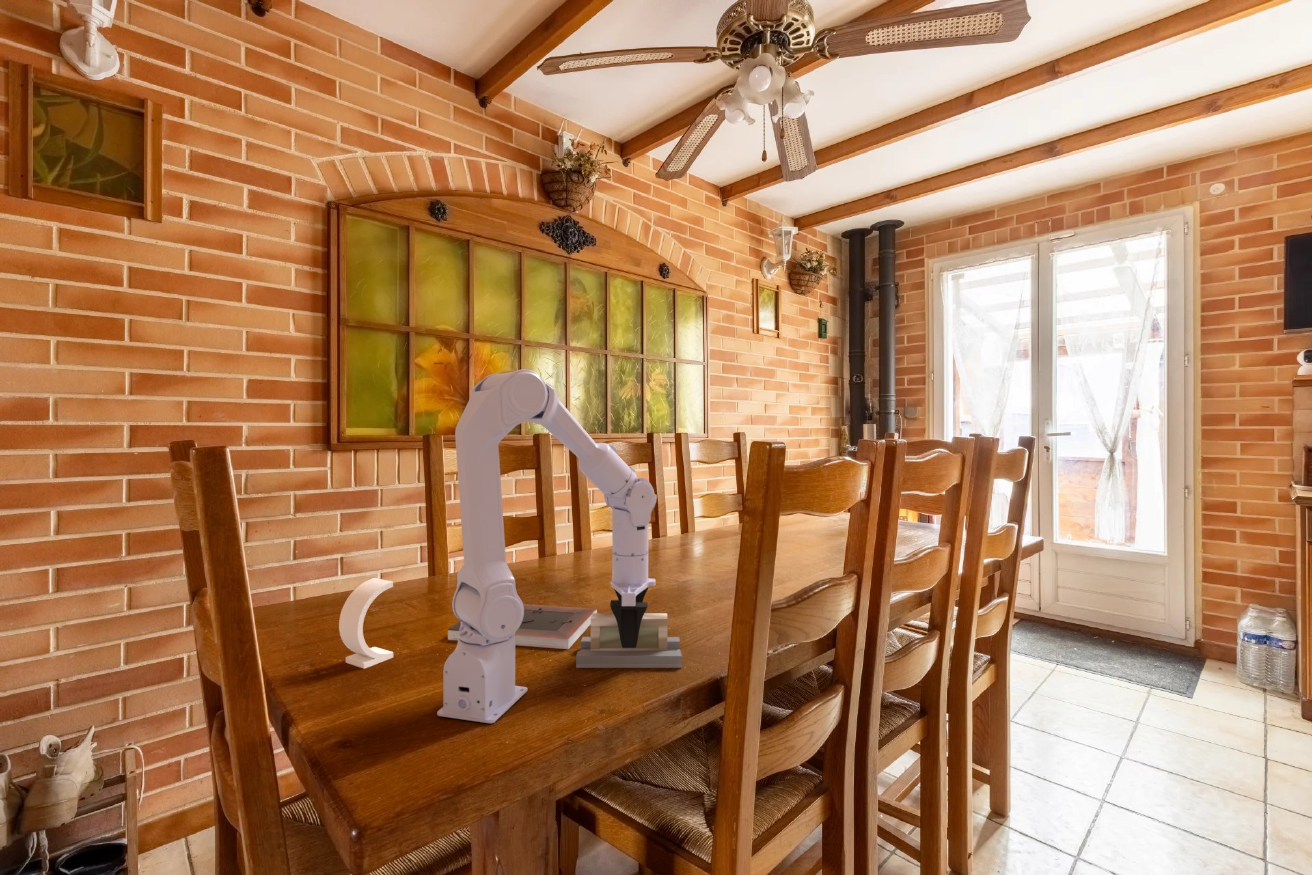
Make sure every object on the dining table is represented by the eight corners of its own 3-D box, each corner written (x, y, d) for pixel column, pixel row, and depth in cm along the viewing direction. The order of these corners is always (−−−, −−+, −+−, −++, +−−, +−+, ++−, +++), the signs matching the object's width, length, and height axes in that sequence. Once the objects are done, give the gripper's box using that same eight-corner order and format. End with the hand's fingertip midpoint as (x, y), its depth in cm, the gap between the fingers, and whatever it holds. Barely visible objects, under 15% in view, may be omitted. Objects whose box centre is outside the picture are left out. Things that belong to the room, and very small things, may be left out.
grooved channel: (681, 667, 89) (681, 656, 89) (576, 667, 88) (576, 655, 88) (679, 647, 97) (679, 636, 97) (582, 647, 96) (582, 636, 96)
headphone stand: (393, 657, 92) (393, 581, 92) (357, 671, 87) (357, 591, 87) (375, 651, 94) (374, 577, 94) (339, 664, 89) (338, 586, 89)
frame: (667, 656, 91) (667, 618, 91) (590, 656, 91) (590, 618, 91) (666, 650, 94) (667, 613, 94) (592, 650, 94) (592, 613, 94)
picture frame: (447, 643, 100) (568, 652, 96) (447, 628, 100) (568, 637, 96) (492, 613, 116) (596, 620, 112) (492, 600, 116) (596, 607, 112)
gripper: (656, 563, 85) (655, 655, 85) (655, 543, 99) (654, 622, 100) (607, 563, 85) (607, 655, 85) (613, 543, 99) (613, 622, 100)
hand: (629, 637), depth 92 cm, fingers open, 7 cm apart
